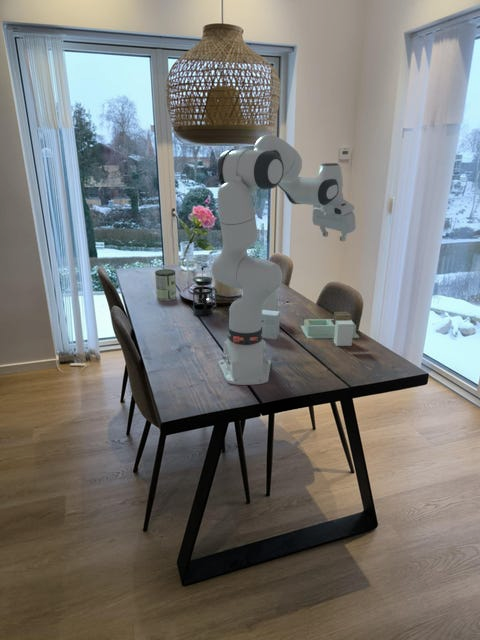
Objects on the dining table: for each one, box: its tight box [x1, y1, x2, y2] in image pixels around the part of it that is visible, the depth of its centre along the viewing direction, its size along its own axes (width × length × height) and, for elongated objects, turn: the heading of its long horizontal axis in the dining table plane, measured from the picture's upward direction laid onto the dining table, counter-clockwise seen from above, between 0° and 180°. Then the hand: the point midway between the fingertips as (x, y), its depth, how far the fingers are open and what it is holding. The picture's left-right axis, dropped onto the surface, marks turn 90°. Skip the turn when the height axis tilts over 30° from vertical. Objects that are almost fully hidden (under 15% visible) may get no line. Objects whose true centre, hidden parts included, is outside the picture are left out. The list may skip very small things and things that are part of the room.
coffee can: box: [154, 268, 177, 302], centre depth 226 cm, size 10×10×14 cm
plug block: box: [333, 320, 355, 347], centre depth 171 cm, size 4×6×10 cm, turn 94°
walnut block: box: [333, 311, 352, 325], centre depth 184 cm, size 4×6×8 cm, turn 94°
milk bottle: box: [262, 290, 278, 311], centre depth 195 cm, size 8×8×20 cm
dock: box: [300, 318, 361, 339], centre depth 184 cm, size 14×22×5 cm, turn 94°
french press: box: [192, 264, 218, 318], centre depth 203 cm, size 12×9×23 cm
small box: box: [261, 310, 281, 340], centre depth 180 cm, size 8×6×10 cm
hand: (333, 238), depth 178 cm, fingers open, 8 cm apart
